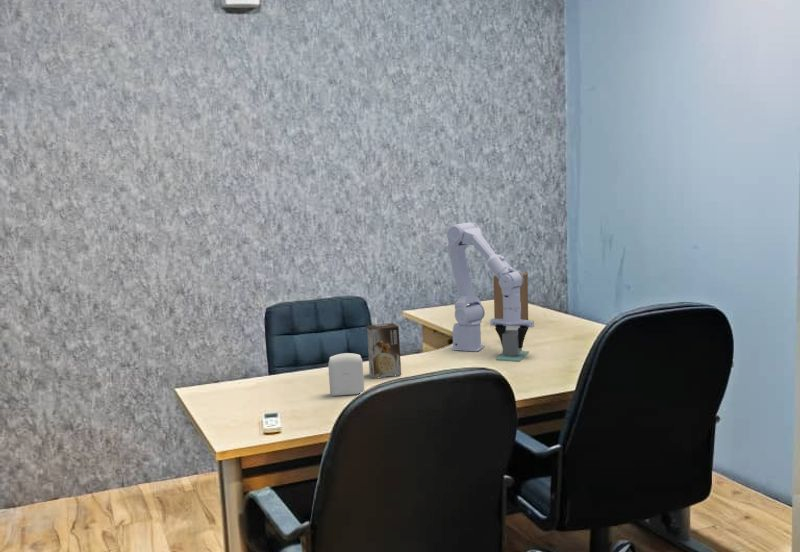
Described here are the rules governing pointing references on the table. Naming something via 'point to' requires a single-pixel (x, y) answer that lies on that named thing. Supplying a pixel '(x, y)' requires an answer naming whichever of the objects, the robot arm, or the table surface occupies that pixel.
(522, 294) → the wooden block
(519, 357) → the teal base stand
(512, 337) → the dark grey block
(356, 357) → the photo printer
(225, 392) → the table surface
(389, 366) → the coffee box
